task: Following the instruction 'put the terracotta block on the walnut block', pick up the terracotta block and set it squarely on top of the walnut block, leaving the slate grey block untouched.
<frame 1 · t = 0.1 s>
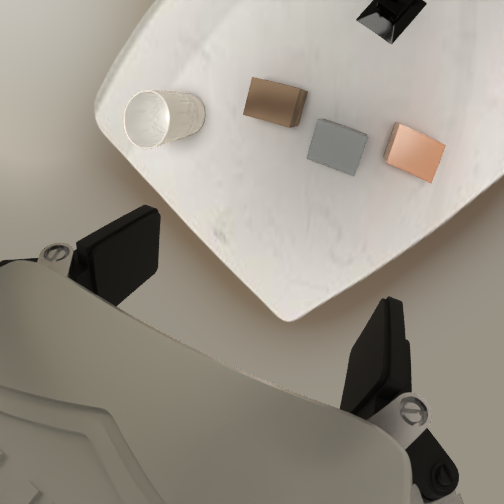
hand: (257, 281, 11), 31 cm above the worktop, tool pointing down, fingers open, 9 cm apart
slate grey block: (340, 143, 36), on the worktop
walnut block: (281, 102, 36), on the worktop
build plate: (392, 11, 25), on the worktop
terracotta block: (410, 148, 33), on the worktop
white cup: (187, 114, 42), on the worktop
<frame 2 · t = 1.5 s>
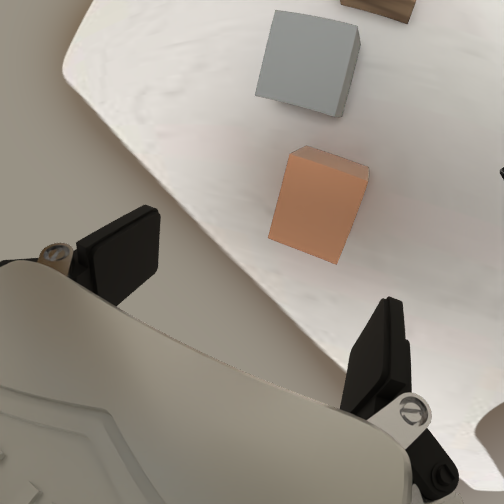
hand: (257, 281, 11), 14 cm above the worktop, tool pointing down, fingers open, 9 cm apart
slate grey block: (318, 70, 19), on the worktop
terracotta block: (326, 191, 23), on the worktop
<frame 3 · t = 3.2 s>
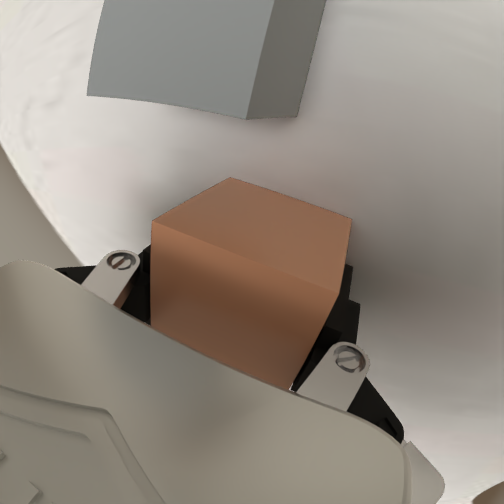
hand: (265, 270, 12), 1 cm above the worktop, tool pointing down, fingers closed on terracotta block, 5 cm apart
slate grey block: (250, 30, 9), on the worktop
terracotta block: (271, 261, 13), on the worktop, touching gripper
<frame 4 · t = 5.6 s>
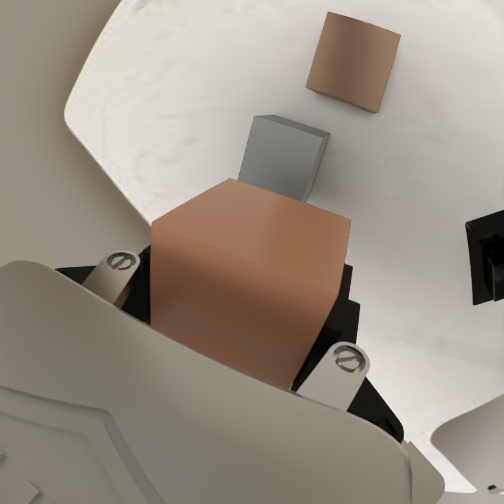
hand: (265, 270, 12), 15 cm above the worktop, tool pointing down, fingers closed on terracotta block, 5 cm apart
slate grey block: (291, 156, 25), on the worktop
walnut block: (355, 69, 20), on the worktop
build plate: (491, 255, 22), on the worktop
terracotta block: (270, 262, 13), point 15 cm above the worktop, touching gripper
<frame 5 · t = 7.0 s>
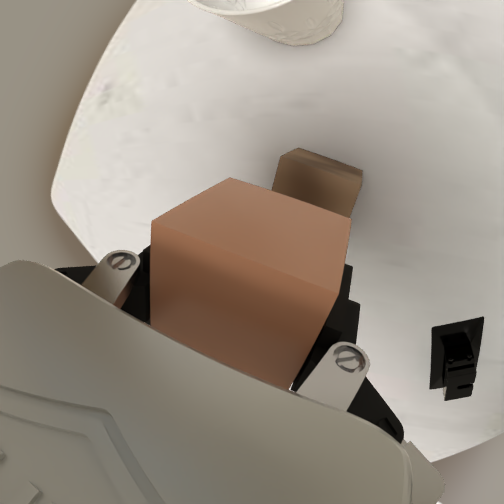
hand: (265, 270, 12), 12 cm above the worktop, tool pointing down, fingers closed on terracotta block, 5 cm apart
walnut block: (318, 194, 22), on the worktop
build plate: (454, 352, 24), on the worktop
terracotta block: (270, 261, 13), point 11 cm above the worktop, touching gripper
white cup: (298, 8, 16), on the worktop
when the fingers open (7 cm above the worktop, at t = 8.2 s): terracotta block drops 1 cm, resting on walnut block.
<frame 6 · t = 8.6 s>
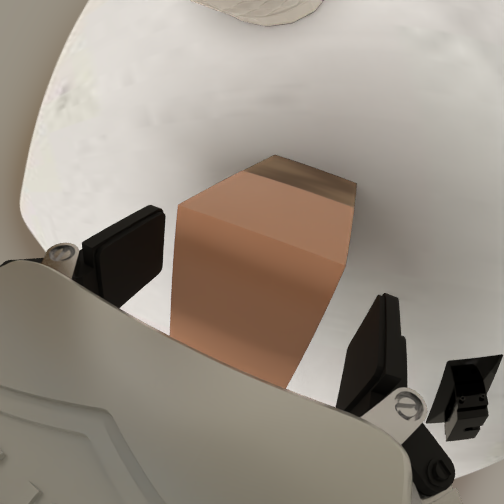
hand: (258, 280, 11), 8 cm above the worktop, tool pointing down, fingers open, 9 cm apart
walnut block: (301, 214, 18), on the worktop, touching terracotta block
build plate: (461, 387, 20), on the worktop
terracotta block: (279, 248, 14), point 5 cm above the worktop, touching walnut block
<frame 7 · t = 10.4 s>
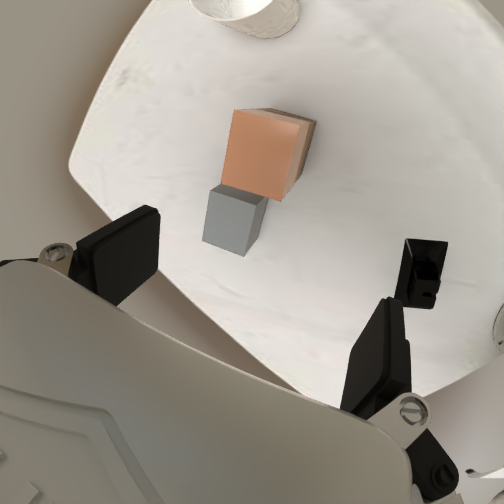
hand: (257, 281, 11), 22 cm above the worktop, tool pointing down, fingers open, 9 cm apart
slate grey block: (243, 208, 35), on the worktop
walnut block: (286, 141, 30), on the worktop, touching terracotta block
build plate: (419, 272, 32), on the worktop
terracotta block: (274, 146, 26), point 5 cm above the worktop, touching walnut block
white cup: (268, 12, 24), on the worktop
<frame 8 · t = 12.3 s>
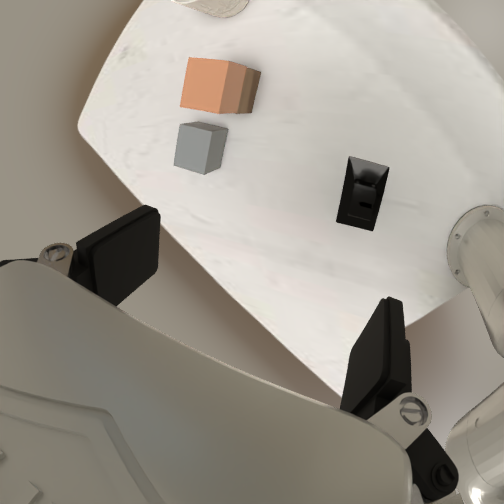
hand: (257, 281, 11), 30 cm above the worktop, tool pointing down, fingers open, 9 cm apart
slate grey block: (209, 144, 42), on the worktop
walnut block: (239, 89, 37), on the worktop, touching terracotta block
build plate: (362, 194, 38), on the worktop
terracotta block: (223, 86, 32), point 5 cm above the worktop, touching walnut block
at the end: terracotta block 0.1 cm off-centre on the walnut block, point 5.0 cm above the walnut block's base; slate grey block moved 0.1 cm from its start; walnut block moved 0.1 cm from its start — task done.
